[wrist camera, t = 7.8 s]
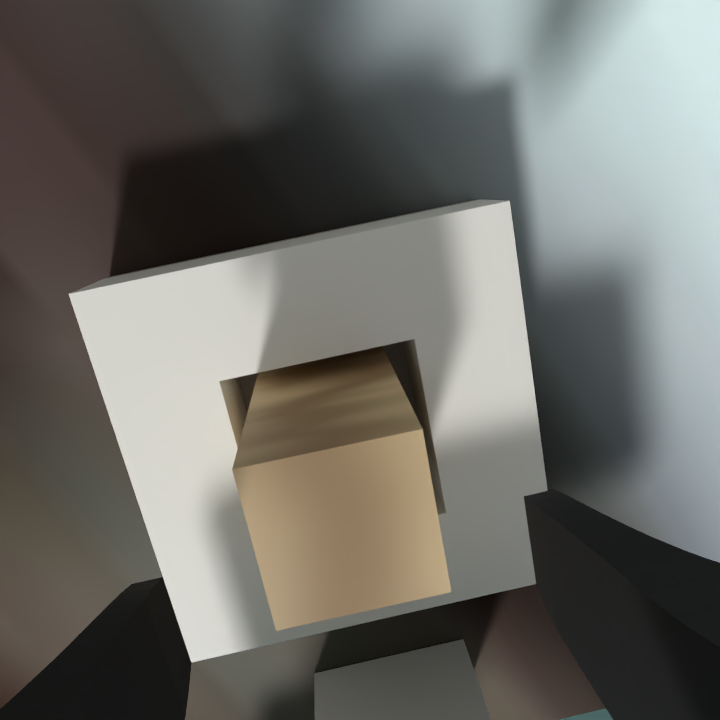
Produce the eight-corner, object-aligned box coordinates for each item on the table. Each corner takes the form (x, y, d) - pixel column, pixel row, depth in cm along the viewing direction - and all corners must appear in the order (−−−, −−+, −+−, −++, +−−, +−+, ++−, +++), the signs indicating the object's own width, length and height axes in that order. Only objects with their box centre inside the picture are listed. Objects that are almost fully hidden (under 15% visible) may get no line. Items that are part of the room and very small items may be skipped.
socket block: (476, 199, 20) (509, 200, 17) (522, 522, 23) (559, 578, 20) (109, 276, 20) (68, 294, 16) (208, 593, 23) (191, 662, 20)
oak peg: (379, 340, 21) (422, 429, 13) (399, 450, 22) (451, 592, 14) (260, 365, 20) (232, 469, 13) (287, 473, 22) (275, 630, 14)
